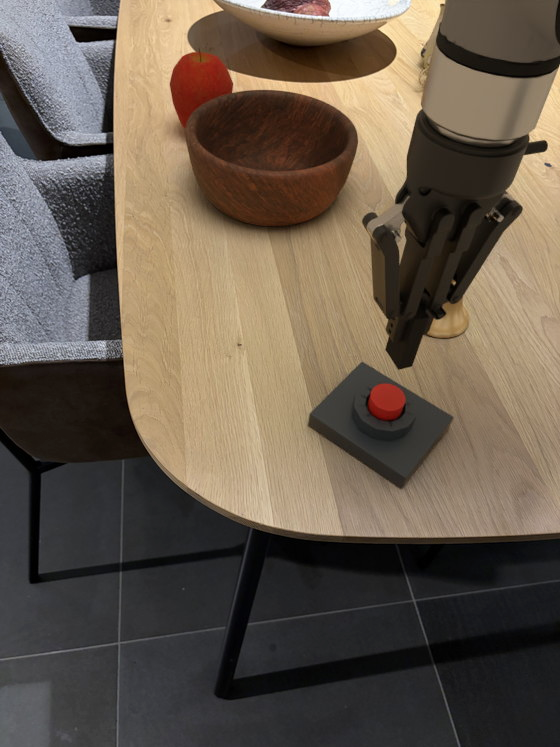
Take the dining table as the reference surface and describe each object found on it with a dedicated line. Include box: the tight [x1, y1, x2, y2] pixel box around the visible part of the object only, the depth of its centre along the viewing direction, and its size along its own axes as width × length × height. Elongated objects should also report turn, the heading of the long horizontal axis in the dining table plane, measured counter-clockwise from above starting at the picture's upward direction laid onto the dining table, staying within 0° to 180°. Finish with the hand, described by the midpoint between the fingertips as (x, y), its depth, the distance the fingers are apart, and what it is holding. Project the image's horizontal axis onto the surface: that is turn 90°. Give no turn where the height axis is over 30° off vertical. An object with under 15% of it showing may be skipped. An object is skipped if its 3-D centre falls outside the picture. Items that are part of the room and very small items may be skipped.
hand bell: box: [426, 280, 470, 339], centre depth 72 cm, size 8×8×16 cm
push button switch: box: [307, 361, 455, 490], centre depth 64 cm, size 12×10×4 cm
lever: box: [524, 139, 549, 156], centre depth 80 cm, size 13×6×2 cm, turn 21°
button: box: [368, 384, 405, 421], centre depth 62 cm, size 4×4×2 cm
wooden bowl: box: [184, 89, 359, 227], centre depth 91 cm, size 25×25×10 cm
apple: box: [169, 47, 234, 129], centre depth 100 cm, size 10×10×14 cm
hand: (398, 357), depth 57 cm, fingers closed
